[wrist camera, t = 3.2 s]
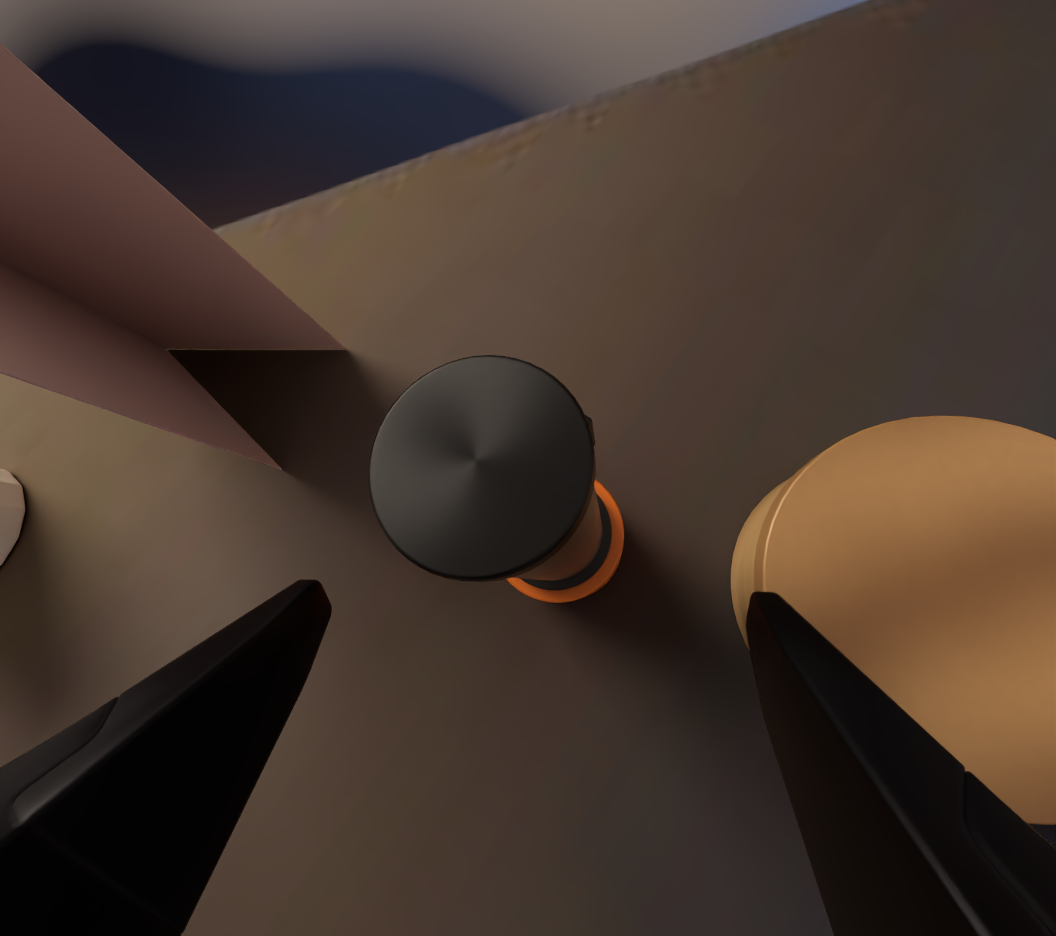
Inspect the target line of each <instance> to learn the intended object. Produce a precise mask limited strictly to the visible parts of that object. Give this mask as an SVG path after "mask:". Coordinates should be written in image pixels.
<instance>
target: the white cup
mask: <svg viewBox="0 0 1056 936" xmlns="http://www.w3.org/2000/svg"><path fill="white" fill-rule="evenodd" d="M24 514H25V502H24V495H23V489H22V486H21V484H20V483H19V482H18V481H17V480H16V479H15V478H14V476H13V475H12V474H11V473H10V472H9V471H7V470H3V469H0V566H1V565H2V564H3V562H4V561H5V559H6V558H7V556H8V554H9V553H10V551H11V550H12V548H13V546H14V544H15V543H16V541H17V539H18V538H19V535H20V531H21V526H22V522H23V518H24Z"/></svg>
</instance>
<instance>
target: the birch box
mask: <svg viewBox="0 0 1056 936" xmlns="http://www.w3.org/2000/svg"><path fill="white" fill-rule="evenodd" d="M756 591H760V592H775V593H777V594H779V595H780V596H781V597H782V598H783V599H785V600H786V601H787V602H788V603H789V604H790V605H791V606H792V607H793V608H794V609H795V610H796V611H797V612H799V613H800V614H801V615H802V616H803V617H804V618H805V619H806V620H807V621H808V622H809V623H810V624H812V625H813V626H814V627H815V628H816V629H817V630H818V631H819V632H820V633H821V634H822V635H823V636H824V637H826V638H827V639H828V640H829V641H830V642H831V643H832V644H833V645H834V646H835V647H836V648H837V649H839V650H840V651H841V652H842V653H843V654H844V655H845V656H846V657H847V658H848V659H849V660H850V661H851V662H853V663H854V664H855V665H856V666H857V667H858V668H859V669H860V670H861V671H862V672H863V673H864V674H866V675H867V676H868V677H869V678H870V679H871V680H872V681H873V682H874V683H875V684H876V685H877V686H878V687H880V688H881V689H882V690H883V691H884V692H885V693H886V694H887V695H888V696H889V697H890V698H891V699H893V700H894V701H895V702H896V703H897V704H898V705H899V706H900V707H901V708H902V709H903V710H904V711H905V712H907V713H908V714H909V715H910V716H911V717H912V718H913V719H914V720H915V721H916V722H917V723H918V724H920V725H921V726H922V727H923V728H924V729H925V730H926V731H927V732H928V733H929V734H930V735H931V736H932V737H934V738H935V739H936V740H937V741H938V742H939V743H940V744H941V745H942V746H943V747H944V748H945V749H947V750H948V751H949V752H950V753H951V754H952V755H953V756H954V757H955V758H956V759H957V760H958V761H959V762H961V763H962V764H963V765H964V767H965V771H970V772H972V773H973V774H974V775H975V776H976V777H977V778H978V779H979V780H980V781H981V782H982V783H984V784H985V785H986V786H987V787H988V788H989V789H990V790H991V791H992V792H993V793H994V794H995V795H996V796H998V797H999V798H1000V799H1001V800H1002V801H1003V802H1004V803H1005V804H1006V805H1008V806H1009V807H1010V808H1011V809H1012V810H1013V811H1014V812H1015V813H1016V814H1018V815H1019V816H1020V817H1021V818H1022V819H1023V820H1024V821H1025V822H1027V823H1028V824H1041V825H1055V824H1056V440H1055V439H1053V438H1051V437H1048V436H1045V435H1043V434H1040V433H1037V432H1034V431H1031V430H1028V429H1025V428H1022V427H1019V426H1014V425H1010V424H1006V423H1002V422H998V421H993V420H986V419H979V418H972V417H960V416H927V417H914V418H907V419H902V420H896V421H891V422H886V423H883V424H880V425H877V426H874V427H870V428H867V429H864V430H862V431H860V432H858V433H855V434H853V435H851V436H849V437H847V438H844V439H842V440H841V441H839V442H838V443H836V444H834V445H833V446H831V447H830V448H828V449H827V450H825V451H823V452H822V453H820V454H819V455H817V456H816V457H814V458H813V459H811V460H810V461H809V462H808V463H806V464H805V465H804V466H803V467H802V468H801V469H799V470H798V471H797V472H796V473H795V474H794V475H793V476H792V477H791V478H789V479H787V480H786V481H784V482H783V483H781V484H780V485H778V486H777V487H775V488H774V489H773V490H772V491H771V492H770V493H768V494H767V495H766V496H765V497H764V498H763V499H762V500H761V501H760V503H759V504H758V505H757V506H756V507H755V508H754V510H753V511H752V513H751V514H750V516H749V517H748V519H747V520H746V522H745V524H744V526H743V528H742V530H741V532H740V534H739V537H738V540H737V543H736V546H735V550H734V553H733V560H732V567H731V593H732V601H733V607H734V611H735V615H736V619H737V623H738V626H739V628H740V631H741V633H742V636H743V638H744V641H745V643H746V645H747V647H748V648H749V645H748V640H747V635H746V617H747V612H748V606H749V601H750V597H751V594H752V593H753V592H756ZM749 650H750V649H749Z"/></svg>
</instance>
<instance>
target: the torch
mask: <svg viewBox="0 0 1056 936" xmlns="http://www.w3.org/2000/svg"><path fill="white" fill-rule="evenodd" d="M594 445H595V439H594V432H593V424H592V420H591V418H589V417H588V416H586V415H584V413H583V410H582V408H581V407H580V405H579V404H578V402H577V401H576V399H575V397H574V396H573V395H572V394H571V393H570V391H569V390H568V389H567V388H566V387H565V386H564V385H563V384H562V383H561V382H560V381H559V380H558V379H556V378H555V377H554V376H552V375H551V374H549V373H548V372H546V371H545V370H543V369H542V368H539V367H537V366H535V365H533V364H531V363H528V362H525V361H522V360H519V359H516V358H511V357H506V356H495V355H483V356H473V357H467V358H462V359H459V360H456V361H452V362H449V363H447V364H444V365H442V366H440V367H438V368H435V369H434V370H432V371H430V372H429V373H427V374H425V375H424V376H422V377H421V378H420V379H418V380H417V381H416V382H414V383H413V384H412V385H411V386H410V387H409V388H408V389H407V390H405V391H404V392H403V393H402V394H401V396H400V397H399V398H398V399H397V400H396V401H395V403H394V404H393V405H392V407H391V408H390V410H389V411H388V413H387V414H386V416H385V418H384V419H383V421H382V423H381V425H380V427H379V429H378V432H377V435H376V437H375V440H374V443H373V447H372V451H371V455H370V463H369V489H370V497H371V501H372V505H373V508H374V512H375V514H376V517H377V519H378V521H379V524H380V526H381V528H382V529H383V531H384V533H385V534H386V536H387V538H388V539H389V540H390V541H391V543H392V544H393V545H394V546H395V548H396V549H397V550H398V551H399V552H400V553H401V554H403V555H404V556H405V557H406V558H407V559H408V560H410V561H411V562H413V563H414V564H415V565H417V566H418V567H420V568H422V569H424V570H426V571H428V572H430V573H432V574H435V575H438V576H441V577H444V578H448V579H453V580H459V581H478V582H489V581H498V580H504V579H507V580H508V581H509V583H510V584H511V585H513V586H514V587H515V588H516V589H517V590H519V591H520V592H522V593H523V594H525V595H527V596H529V597H531V598H534V599H537V600H540V601H544V602H550V603H563V602H570V601H574V600H578V599H581V598H583V597H586V596H588V595H591V594H593V593H594V592H596V591H598V590H599V589H600V588H602V587H603V586H604V585H605V584H606V583H607V582H608V581H609V580H610V579H611V577H612V576H613V575H614V573H615V571H616V569H617V567H618V565H619V562H620V558H621V555H622V550H623V545H624V526H623V520H622V516H621V513H620V510H619V508H618V506H617V503H616V502H615V500H614V499H613V497H612V495H611V494H610V493H609V492H608V490H607V489H606V488H605V487H604V486H603V485H602V484H600V483H599V482H598V481H596V480H595V475H596V468H595V453H594Z"/></svg>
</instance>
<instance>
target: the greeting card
mask: <svg viewBox="0 0 1056 936" xmlns="http://www.w3.org/2000/svg"><path fill="white" fill-rule="evenodd" d="M166 349H346V348H345V347H344V346H343V345H342V344H341V343H339V342H338V341H337V340H336V339H335V338H334V337H333V336H331V335H330V334H329V333H328V332H327V331H326V330H325V329H324V328H322V327H321V326H320V325H319V324H318V323H317V322H316V321H314V320H313V319H312V318H311V317H310V316H309V315H308V314H307V313H305V312H304V311H303V310H302V309H301V308H300V307H299V306H297V305H296V304H295V303H294V302H293V301H292V300H291V299H290V298H288V297H287V296H286V295H285V294H284V293H283V292H282V291H280V290H279V289H278V288H277V287H276V286H275V285H274V284H273V283H271V282H270V281H269V280H268V279H267V278H266V277H265V276H264V275H262V274H261V273H260V272H259V271H258V270H257V269H256V268H254V267H253V266H252V265H251V264H250V263H249V262H248V261H247V260H245V259H244V258H243V257H242V256H241V255H240V254H239V253H237V252H236V251H235V250H234V249H233V248H232V247H231V246H230V245H228V244H227V243H226V242H225V241H224V240H223V239H222V238H220V237H219V236H218V235H217V234H216V233H215V232H214V231H213V230H211V229H210V228H209V227H208V226H207V225H206V224H205V223H203V222H202V221H201V220H200V219H199V218H198V217H197V216H195V215H194V214H193V213H192V212H191V211H190V210H189V209H188V208H186V207H185V206H184V205H183V204H182V203H181V202H180V201H179V200H177V199H176V198H175V197H174V196H173V195H172V194H170V193H169V192H168V191H167V190H166V189H165V188H164V187H163V186H161V185H160V184H159V183H158V182H157V181H156V180H155V179H154V178H153V177H151V176H150V175H149V174H148V173H147V172H146V171H145V170H143V169H142V168H141V167H140V166H139V165H138V164H137V163H136V162H134V161H133V160H132V159H131V158H130V157H128V155H126V154H125V153H124V152H123V151H122V150H121V149H119V148H118V147H117V146H116V145H115V144H114V143H113V142H111V140H109V139H108V138H107V137H106V136H105V135H104V134H103V133H102V132H100V131H99V130H98V129H97V128H96V127H95V126H94V125H92V124H91V123H90V122H89V121H88V120H87V119H86V118H85V117H83V116H82V115H81V114H80V113H79V112H78V111H77V110H75V109H74V108H73V107H72V106H71V105H70V104H69V103H68V102H66V101H65V100H64V99H63V98H62V97H61V96H60V95H58V94H57V93H56V92H55V91H54V90H53V89H52V88H51V87H49V86H48V85H47V84H46V83H45V82H44V81H43V80H42V79H40V78H39V77H38V76H37V75H36V74H35V73H34V72H32V71H31V70H30V69H29V68H28V67H27V66H26V65H24V64H23V63H22V62H21V61H20V60H19V59H18V58H17V57H15V56H14V55H13V54H12V53H11V52H10V51H9V50H8V49H6V48H5V47H4V46H3V45H2V44H0V373H2V374H4V375H7V376H10V377H13V378H16V379H19V380H22V381H25V382H28V383H31V384H33V385H36V386H39V387H42V388H45V389H48V390H51V391H54V392H57V393H59V394H62V395H65V396H68V397H71V398H74V399H77V400H80V401H83V402H86V403H88V404H91V405H94V406H97V407H100V408H103V409H106V410H109V411H112V412H114V413H117V414H120V415H123V416H126V417H129V418H132V419H135V420H138V421H141V422H143V423H146V424H149V425H152V426H155V427H158V428H161V429H164V430H167V431H169V432H172V433H175V434H178V435H181V436H184V437H187V438H190V439H193V440H196V441H198V442H201V443H204V444H207V445H210V446H213V447H216V448H219V449H222V450H224V451H227V452H230V453H233V454H236V455H239V456H242V457H245V458H248V459H251V460H253V461H256V462H259V463H262V464H265V465H268V466H271V467H274V468H277V469H279V470H282V469H281V467H280V466H279V465H278V464H277V463H276V462H275V461H274V460H273V459H272V458H271V457H270V456H269V455H268V454H267V453H266V452H265V451H264V450H263V449H262V448H261V447H260V446H259V445H258V444H257V443H256V442H255V441H254V440H253V439H252V438H251V437H250V436H249V434H248V433H247V432H246V431H245V430H244V429H243V428H242V427H241V426H240V425H239V424H238V423H237V422H236V421H235V420H234V419H233V418H232V417H231V416H230V415H229V414H228V413H227V412H226V411H225V410H224V409H223V408H222V407H221V406H220V405H219V404H218V403H217V401H216V400H215V399H214V398H213V397H212V396H211V395H210V394H209V393H208V392H207V391H206V390H205V389H204V388H203V387H202V386H201V385H200V384H199V383H198V382H197V381H196V380H195V379H194V378H193V377H192V376H191V375H190V374H189V373H188V372H187V371H186V370H185V368H184V367H183V366H182V365H181V364H180V363H179V362H178V361H177V360H176V359H175V358H174V357H173V356H172V355H171V354H170V353H169V352H168V351H167V350H166Z"/></svg>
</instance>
